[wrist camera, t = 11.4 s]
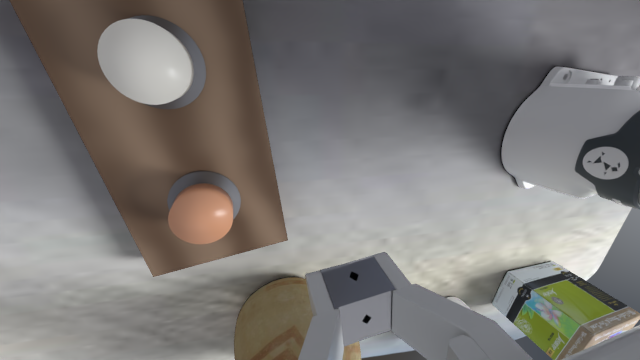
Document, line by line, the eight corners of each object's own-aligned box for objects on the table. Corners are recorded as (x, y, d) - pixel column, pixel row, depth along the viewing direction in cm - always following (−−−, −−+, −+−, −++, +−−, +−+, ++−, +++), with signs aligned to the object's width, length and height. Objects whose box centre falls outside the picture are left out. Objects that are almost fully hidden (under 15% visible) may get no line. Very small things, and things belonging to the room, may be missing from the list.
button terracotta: (225, 178, 22) (224, 187, 20) (238, 224, 24) (238, 235, 23) (164, 190, 21) (158, 201, 19) (184, 237, 23) (179, 250, 21)
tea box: (489, 304, 56) (566, 375, 43) (505, 269, 52) (595, 335, 39) (535, 292, 60) (617, 352, 47) (553, 259, 57) (647, 314, 44)
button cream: (181, 22, 17) (175, 16, 15) (202, 97, 19) (199, 99, 18) (97, 26, 16) (80, 21, 14) (130, 106, 18) (118, 109, 16)
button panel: (184, -289, 15) (172, -372, 12) (283, 225, 31) (288, 241, 28) (-135, -359, 12) (-252, -495, 9) (161, 257, 28) (152, 278, 25)
